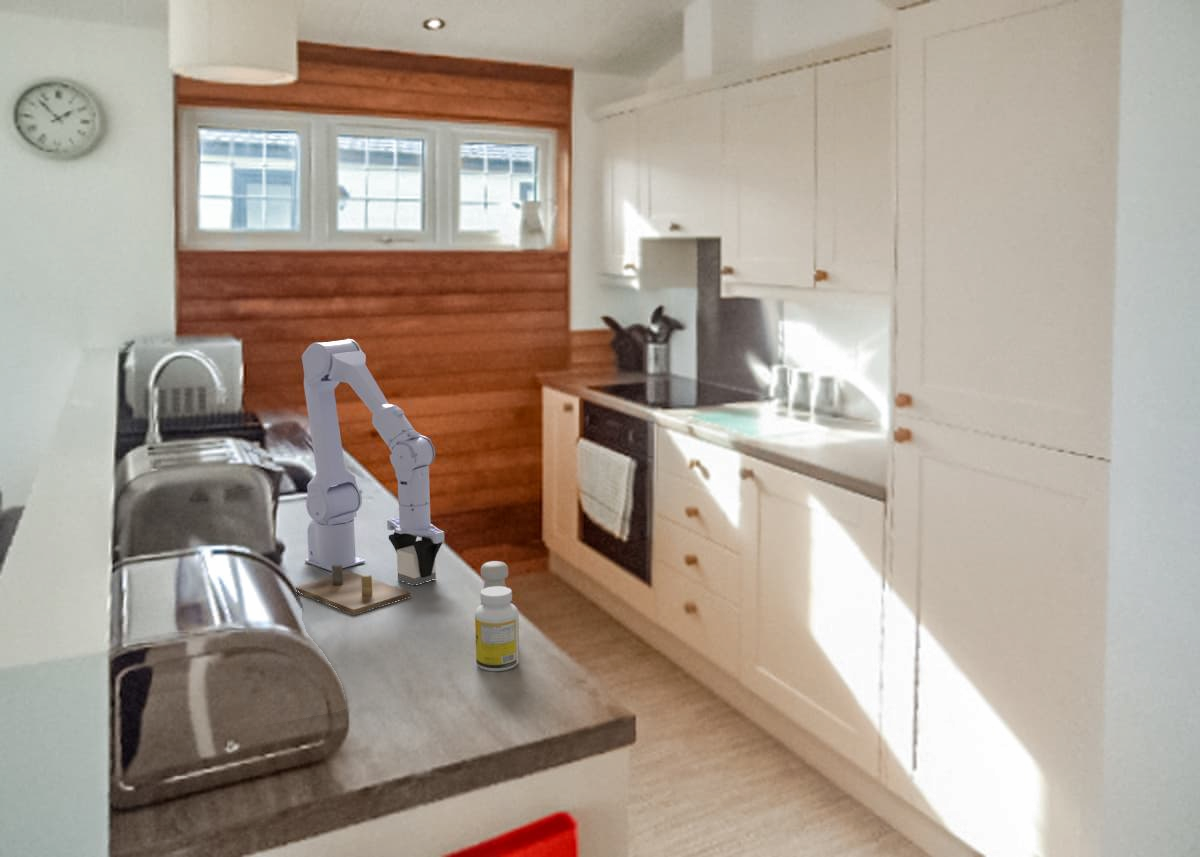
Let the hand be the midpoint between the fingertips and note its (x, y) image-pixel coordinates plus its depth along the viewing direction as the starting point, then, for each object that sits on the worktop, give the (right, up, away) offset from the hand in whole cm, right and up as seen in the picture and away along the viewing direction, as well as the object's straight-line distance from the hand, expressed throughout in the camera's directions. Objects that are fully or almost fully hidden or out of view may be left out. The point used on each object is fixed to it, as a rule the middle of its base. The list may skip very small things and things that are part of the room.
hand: (416, 572), depth 201 cm
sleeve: (0, -1, 0) cm, 1 cm away
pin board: (-10, -3, -8) cm, 13 cm away
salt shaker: (+18, -7, -30) cm, 36 cm away
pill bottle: (+19, -9, -39) cm, 44 cm away
